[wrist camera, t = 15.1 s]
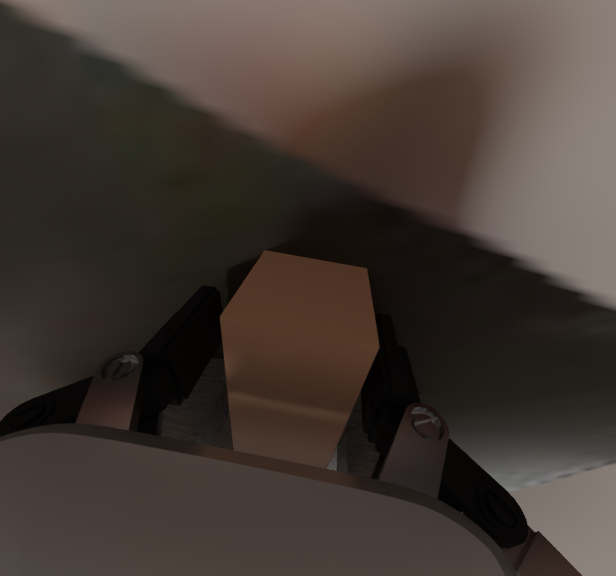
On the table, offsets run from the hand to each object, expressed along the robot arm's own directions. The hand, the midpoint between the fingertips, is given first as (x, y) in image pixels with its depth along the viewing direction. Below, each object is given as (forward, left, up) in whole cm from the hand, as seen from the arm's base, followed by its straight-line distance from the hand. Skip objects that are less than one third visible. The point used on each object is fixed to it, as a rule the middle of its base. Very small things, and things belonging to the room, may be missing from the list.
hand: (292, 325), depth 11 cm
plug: (-6, 0, -1) cm, 6 cm away
